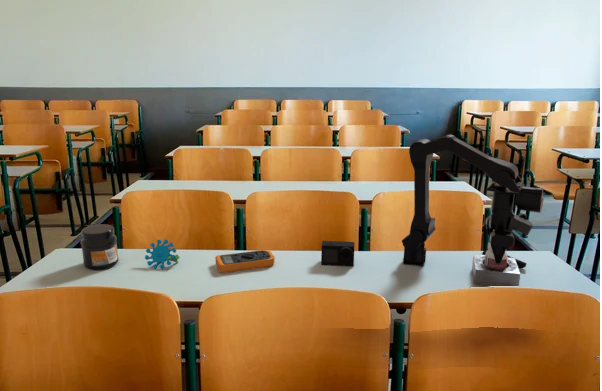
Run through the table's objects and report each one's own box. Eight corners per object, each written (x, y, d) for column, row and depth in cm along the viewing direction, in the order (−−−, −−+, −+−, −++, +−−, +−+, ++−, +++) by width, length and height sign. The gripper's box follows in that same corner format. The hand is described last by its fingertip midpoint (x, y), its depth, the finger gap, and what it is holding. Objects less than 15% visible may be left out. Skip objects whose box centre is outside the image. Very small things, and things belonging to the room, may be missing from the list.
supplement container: (119, 268, 161) (115, 232, 157) (82, 273, 157) (78, 236, 154) (118, 256, 170) (115, 222, 167) (84, 260, 167) (80, 225, 164)
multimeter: (276, 267, 163) (276, 257, 162) (219, 275, 157) (219, 264, 156) (269, 257, 170) (269, 247, 169) (215, 264, 165) (214, 254, 164)
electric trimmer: (520, 273, 159) (521, 264, 158) (480, 256, 172) (481, 247, 171) (528, 270, 161) (529, 261, 160) (488, 253, 174) (489, 245, 173)
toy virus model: (138, 263, 161) (152, 235, 165) (145, 270, 166) (158, 242, 170) (170, 271, 158) (183, 242, 163) (176, 278, 163) (188, 250, 168)
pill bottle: (508, 282, 152) (513, 246, 149) (490, 284, 150) (494, 248, 147) (496, 273, 158) (500, 239, 155) (478, 275, 156) (482, 240, 153)
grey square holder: (474, 285, 150) (475, 269, 148) (471, 268, 161) (473, 254, 160) (518, 290, 147) (520, 274, 146) (512, 273, 158) (514, 258, 157)
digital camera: (320, 267, 162) (320, 246, 161) (321, 260, 168) (322, 240, 166) (353, 268, 161) (354, 247, 159) (353, 261, 167) (354, 241, 165)
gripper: (538, 219, 137) (530, 273, 141) (527, 200, 154) (521, 248, 159) (494, 215, 140) (488, 268, 144) (488, 197, 157) (483, 245, 161)
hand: (496, 257), depth 152 cm, fingers open, 9 cm apart
